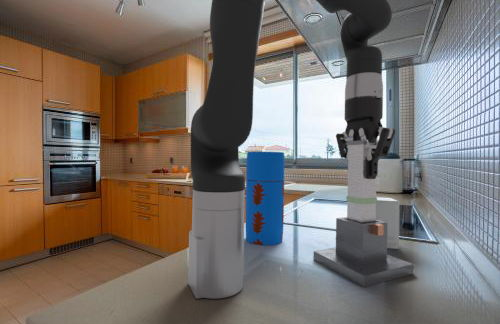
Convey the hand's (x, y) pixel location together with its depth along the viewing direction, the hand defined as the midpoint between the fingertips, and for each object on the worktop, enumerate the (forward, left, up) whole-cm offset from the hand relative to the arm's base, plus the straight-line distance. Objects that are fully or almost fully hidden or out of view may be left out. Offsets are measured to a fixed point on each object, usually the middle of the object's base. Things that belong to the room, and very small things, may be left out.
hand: (361, 177), depth 56 cm
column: (0, 0, -11) cm, 11 cm away
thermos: (-10, +25, -19) cm, 33 cm away
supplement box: (+18, +9, -19) cm, 28 cm away
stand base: (0, 0, -19) cm, 19 cm away
